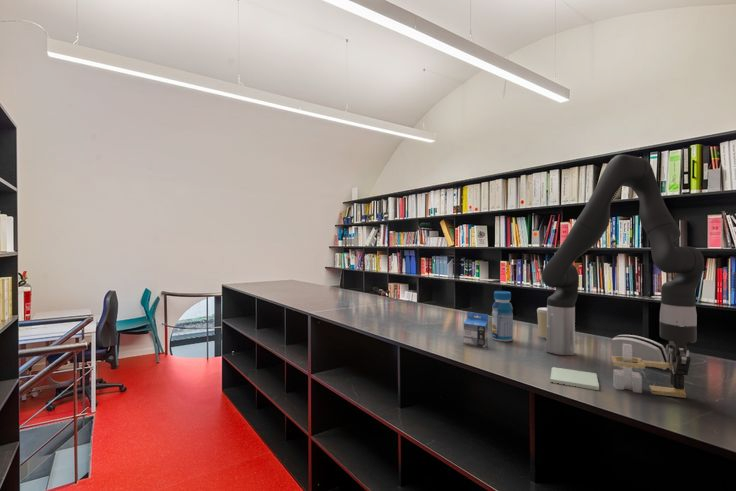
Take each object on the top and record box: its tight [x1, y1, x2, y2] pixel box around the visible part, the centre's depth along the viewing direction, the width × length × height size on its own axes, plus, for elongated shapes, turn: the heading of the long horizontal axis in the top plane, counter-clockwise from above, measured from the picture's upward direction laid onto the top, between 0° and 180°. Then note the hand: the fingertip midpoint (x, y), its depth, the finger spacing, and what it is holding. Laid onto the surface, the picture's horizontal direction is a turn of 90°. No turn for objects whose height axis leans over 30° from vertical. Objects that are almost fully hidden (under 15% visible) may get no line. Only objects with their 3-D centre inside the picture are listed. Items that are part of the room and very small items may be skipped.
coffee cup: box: [536, 307, 547, 339], centre depth 161 cm, size 9×9×12 cm
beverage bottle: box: [491, 290, 514, 342], centre depth 156 cm, size 8×8×20 cm
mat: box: [549, 366, 600, 391], centre depth 109 cm, size 12×12×1 cm
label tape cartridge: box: [463, 311, 489, 348], centre depth 148 cm, size 9×4×12 cm, turn 53°
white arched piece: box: [611, 334, 668, 370], centre depth 127 cm, size 17×5×10 cm, turn 26°
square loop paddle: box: [610, 355, 687, 399], centre depth 101 cm, size 16×7×8 cm, turn 62°
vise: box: [612, 344, 643, 394], centre depth 106 cm, size 6×11×12 cm, turn 152°
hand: (677, 386), depth 98 cm, fingers closed on square loop paddle
